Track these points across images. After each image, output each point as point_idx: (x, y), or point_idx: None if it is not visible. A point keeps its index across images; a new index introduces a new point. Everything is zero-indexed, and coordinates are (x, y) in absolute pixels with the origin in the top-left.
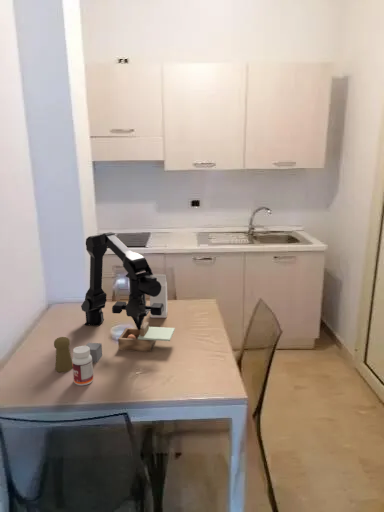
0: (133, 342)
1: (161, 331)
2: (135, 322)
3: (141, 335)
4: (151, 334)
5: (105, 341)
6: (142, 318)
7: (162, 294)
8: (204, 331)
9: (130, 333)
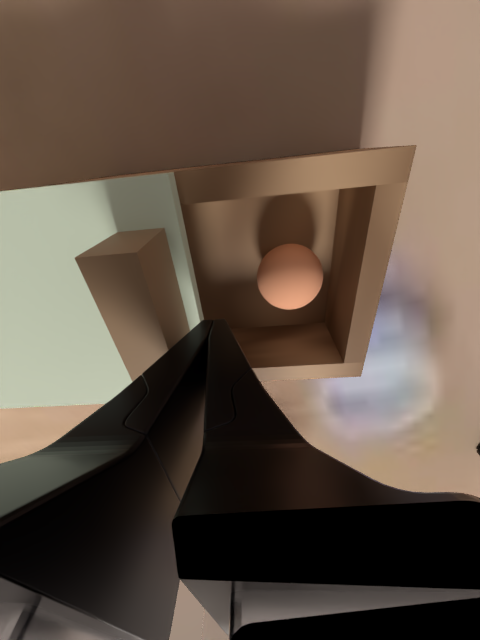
0: (229, 164)
1: (38, 350)
2: (237, 368)
3: (147, 230)
4: (75, 284)
5: (474, 264)
6: (60, 441)
7: (218, 633)
8: (11, 431)
9: (315, 341)
